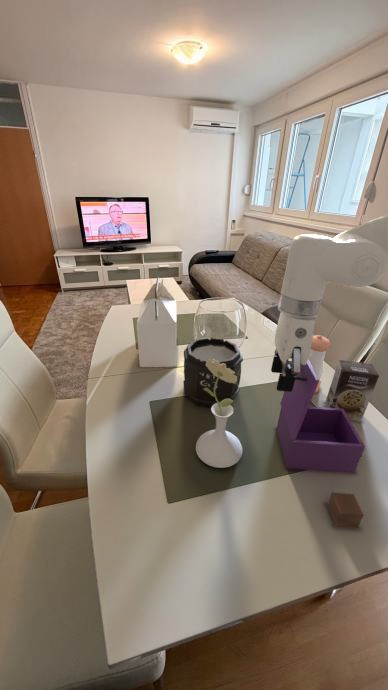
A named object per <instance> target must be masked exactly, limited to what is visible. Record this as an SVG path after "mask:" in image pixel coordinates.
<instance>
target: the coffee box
mask: <svg viewBox="0 0 388 690" xmlns="http://www.w3.org/2000/svg"><path fill="white" fill-rule="evenodd" d="M379 378H380V375H379V373H378V371H377V370H376V368H375V366H374V364H373V363H366V362H360V361H359V362H358V361H352V360H343V359H338V361H337V364H336V367H335V370H334V374H333V376H332V380H331V383H330V386H329V389H328V392H327V396H326V399H325V402H324V406H325V408H341V409H344V411H345V412H346V414H347V416H348V418H349V419H350V421H353V422H358V423H362V421H363V418H364V415H365V413H366V410H367V408H368V405H369V403H370V400H371V397H372V395H373V393H374V390H375V387H376V386H377V383H378V380H379Z"/></svg>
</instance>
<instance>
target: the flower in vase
mask: <svg viewBox="0 0 388 690" xmlns="http://www.w3.org/2000/svg"><path fill="white" fill-rule="evenodd" d="M206 362H207V363H206V366H207V367H208V369H209V370H210V371H211V372H212V373H213V374H215V376H217V380H216V384H215V387H214V393H212V392H211V391H210V390H209V389H208V388H204V389H203V390H205V391H207V392H208V393H210V394H211V395H212V396H213V397H214V396H215V399H216V401H217V403H216V404H214V405H213V406H212V407H210V410H211V413H212V414H213V415H214V418H215V429H211V430H208V431H205V432H204V433H202V434H201V435H200V436H199V437H198V439H197V440H196V443H195V452H196V455H197V456H198V458H199V459H200V460H201V461H202V462H203V463H204V464H206V465H207V466H209V467H212V468H217V469H225V468H229V467H232V466H234V465H236V464H237V463H238V462H239V461H240V460H241V458H242V456H243V446H242V444H241V441H240V440H239V438H238V437H237V436H236V435H234V434H233V433H232V432H230V431H228V430H226V427H227V422H228V419H229V418H230V417H231V416H233V414H234V408H233V406H232V404H233V403H234V399H233V400H231V399H224V400H223V401H221V402H220V403H219V402H218V400H217V397H216V394H215V389H216V386H217V382H218V379H219V378H220V379H221V380H224V381H225V382H229V383H234V384H235V382H236V381H237V379H236V378H237V377H236V376H235V375H233V374H235V372H234V371H231V369H229V368H226V364H224V363H222V364H220V363H219V362H218V361H216V360H215V359H213V362H214V363H213V362H212V361H211V360H208V361H206Z"/></svg>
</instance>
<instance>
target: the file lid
mask: <svg viewBox="0 0 388 690" xmlns="http://www.w3.org/2000/svg"><path fill="white" fill-rule="evenodd" d="M287 361H289V359H288V360H287ZM281 365H282V366H283V362H281ZM291 367H292V365H288V364H287V368H286V370H287V369H291ZM318 383H319V378H318V377H317V375H316V373H315V371H314V369H313V367H312V365H311V363H310V362H309V360H308V361H307V364H306V365H301V363H300V373H299V374H297V377H296V379H295V382H294V386H293V390H292V391H291V392H287V391H283V395H282V398H281V399H280V400H281V401H280V403H279V404H280V406H281V407H282V410H283V414H284V417H285V420H286V424H287V427H288V430H289V434H290V437H291V440H292V441H295V440H296V437H297V435H298V432H299V430H300V427H301V425H302V422H303V420H304V417H305V415H306V412H307V410H308V408H309V407H310V405H311V402H312V400H313V398H314V395H315V394H316V393H315V390H316V388H317V385H318ZM281 407H280V408H281Z"/></svg>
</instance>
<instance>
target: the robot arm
mask: <svg viewBox="0 0 388 690" xmlns="http://www.w3.org/2000/svg"><path fill="white" fill-rule="evenodd" d="M387 271H388V214H387V215H383V216H380V217H378V218H374V219H372V220H369V221H366V222H364V223H362V224H359V225H357V226H355V227H352V228H350V229H347V230H345V231H343V232H340V233H339V234H337V235H336V236H334V237H333V238H332V237H330V236H329V237H328V236H324V235H318V234H299V235H296V236H294V238H293V239H292V240H291V241H290V246H289V251H288V255H287V260H286V266H285V270H284V274H283V275H284V276H283V280H282V285H281V291H280V295H279V300H278V305H277V311H279V317H278V321H277V324H276V330H275V333H274V345H275V349H274V356H273V359H272V362H271V368H270V371H271V373H274V374H279V376H278V380H277V384H276V391H278V392H285V391H287V392H291V391H292V390H293V386H294V382H295V379H296V377H297V374H299V373H300V363H301V365H306V364H307V361H308V357H309V353H310V348H311V343H312V339H313V336H314V333H315V332H314V331H315V326H316V325H315V324H316V318H317V317H318V315H319V312H320V310H321V309H320V308H321V305H322V302H323V298H324V294H325V290H326V287H327V283H328V282H331V283H335V284H340V285H343V286H347V287H351V288H353V287H354V288H363V287H368V286H371V285H374V284H375V283H377V282H378V281H380V280H381V279H382V278H383V277H384V275H385V274H386V272H387ZM289 359H291V360H289ZM287 360H288V361H287ZM281 362H283V366H282V365H281ZM287 364H288V365H292V367H291V369H287V370H286V368H287Z"/></svg>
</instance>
